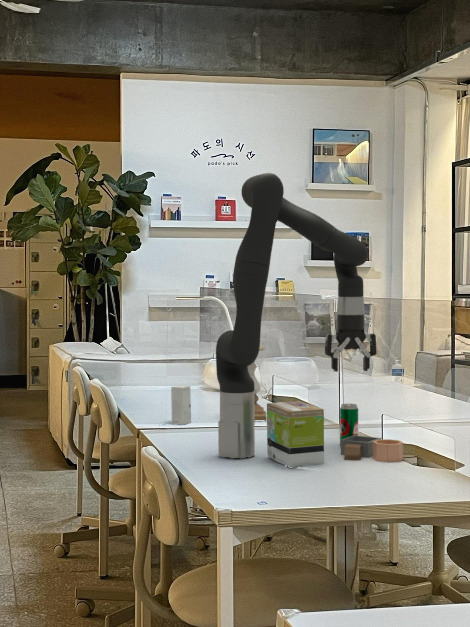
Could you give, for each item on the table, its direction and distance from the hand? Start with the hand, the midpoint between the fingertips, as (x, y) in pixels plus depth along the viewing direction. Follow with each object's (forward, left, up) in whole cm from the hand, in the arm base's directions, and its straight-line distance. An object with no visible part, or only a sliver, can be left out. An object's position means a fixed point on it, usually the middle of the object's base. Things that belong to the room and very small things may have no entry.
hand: (350, 371), depth 267 cm
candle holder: (+26, +50, -21) cm, 60 cm away
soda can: (-3, -1, -21) cm, 21 cm away
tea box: (-28, +2, -21) cm, 35 cm away
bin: (-12, -9, -21) cm, 26 cm away
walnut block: (-19, -10, -21) cm, 30 cm away
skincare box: (+7, +64, -21) cm, 68 cm away
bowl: (-15, -18, -21) cm, 31 cm away
